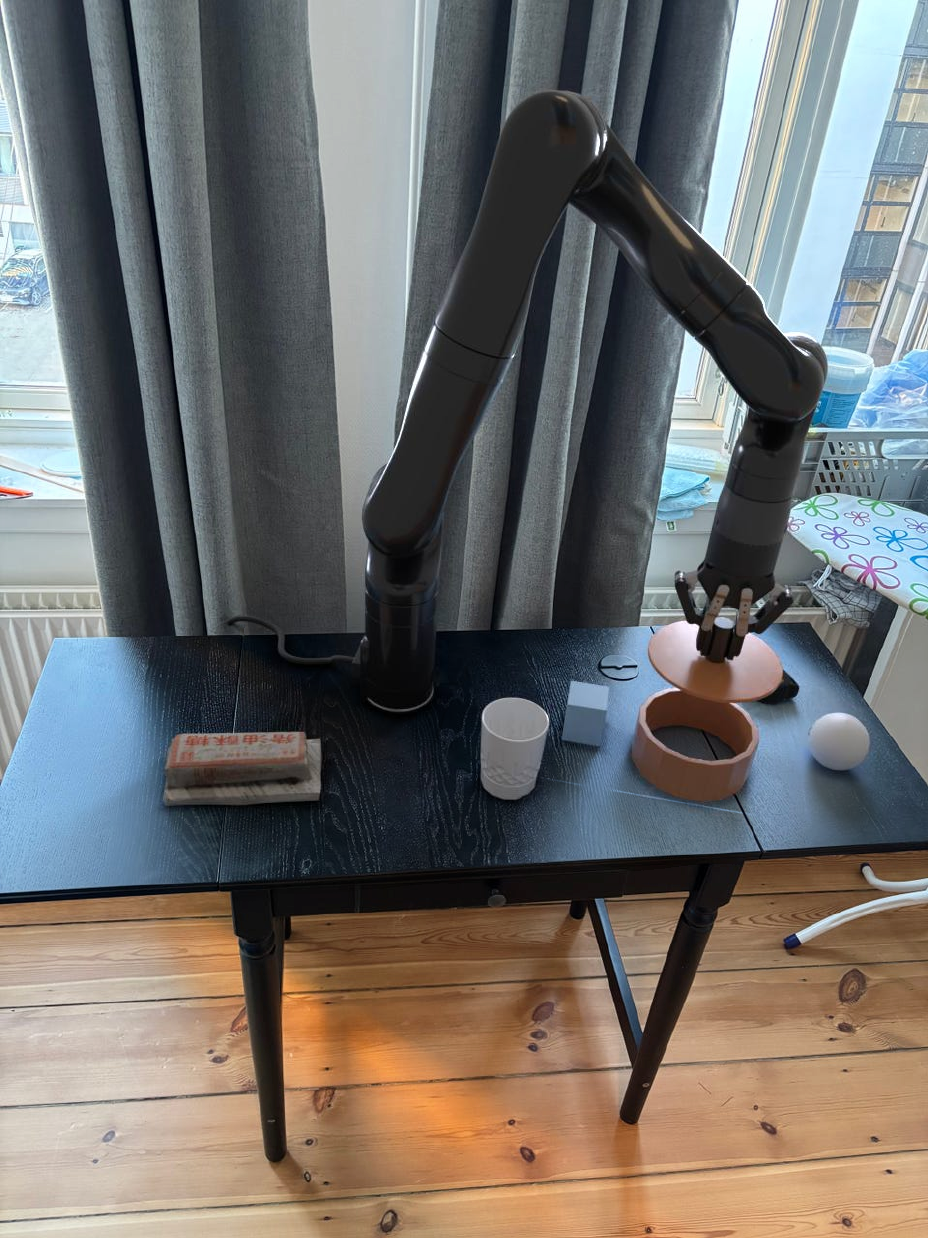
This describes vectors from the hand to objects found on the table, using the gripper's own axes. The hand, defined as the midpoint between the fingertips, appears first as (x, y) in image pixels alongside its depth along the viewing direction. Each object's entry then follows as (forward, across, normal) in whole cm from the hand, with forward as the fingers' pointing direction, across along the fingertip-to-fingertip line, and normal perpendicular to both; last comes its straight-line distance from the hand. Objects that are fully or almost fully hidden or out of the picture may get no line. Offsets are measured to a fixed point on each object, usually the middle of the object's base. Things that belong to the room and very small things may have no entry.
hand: (715, 653), depth 113 cm
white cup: (+17, +22, +9) cm, 29 cm away
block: (+17, +14, -2) cm, 22 cm away
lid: (+1, 0, 0) cm, 1 cm away
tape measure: (+17, -11, -18) cm, 27 cm away
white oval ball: (+17, -18, -6) cm, 26 cm away
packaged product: (+17, +53, +16) cm, 58 cm away
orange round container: (+17, 0, 0) cm, 17 cm away
